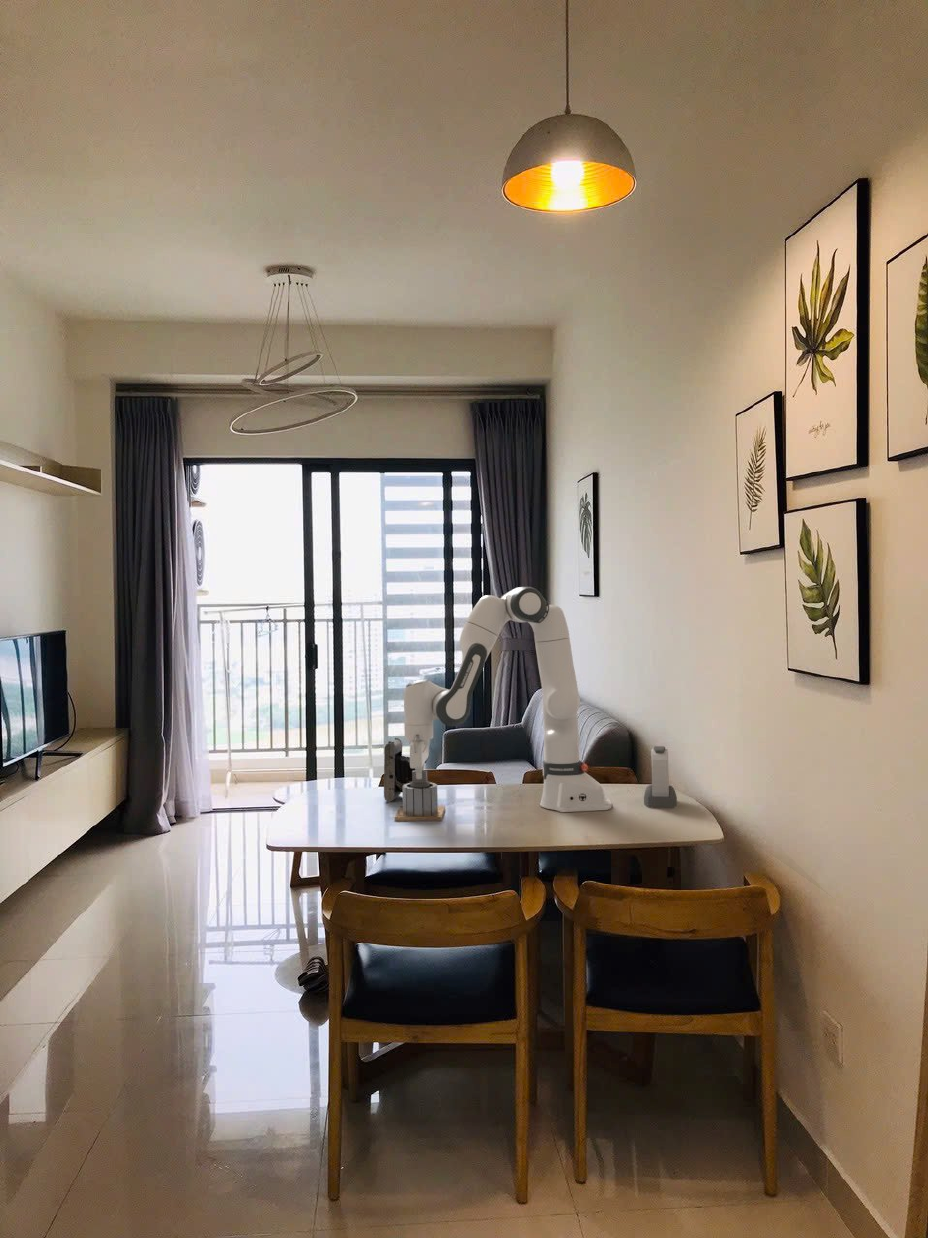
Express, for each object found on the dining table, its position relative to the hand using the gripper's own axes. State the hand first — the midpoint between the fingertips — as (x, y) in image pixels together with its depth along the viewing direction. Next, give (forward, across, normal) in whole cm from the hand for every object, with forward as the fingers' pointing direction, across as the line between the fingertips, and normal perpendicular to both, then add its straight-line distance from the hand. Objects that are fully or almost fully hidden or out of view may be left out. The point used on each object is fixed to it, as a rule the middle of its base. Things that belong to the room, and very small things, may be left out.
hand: (419, 777), depth 272 cm
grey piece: (+12, +14, -75) cm, 77 cm away
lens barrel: (+12, 0, 0) cm, 12 cm away
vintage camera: (+12, +22, +6) cm, 26 cm away
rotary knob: (+3, 0, 0) cm, 3 cm away
